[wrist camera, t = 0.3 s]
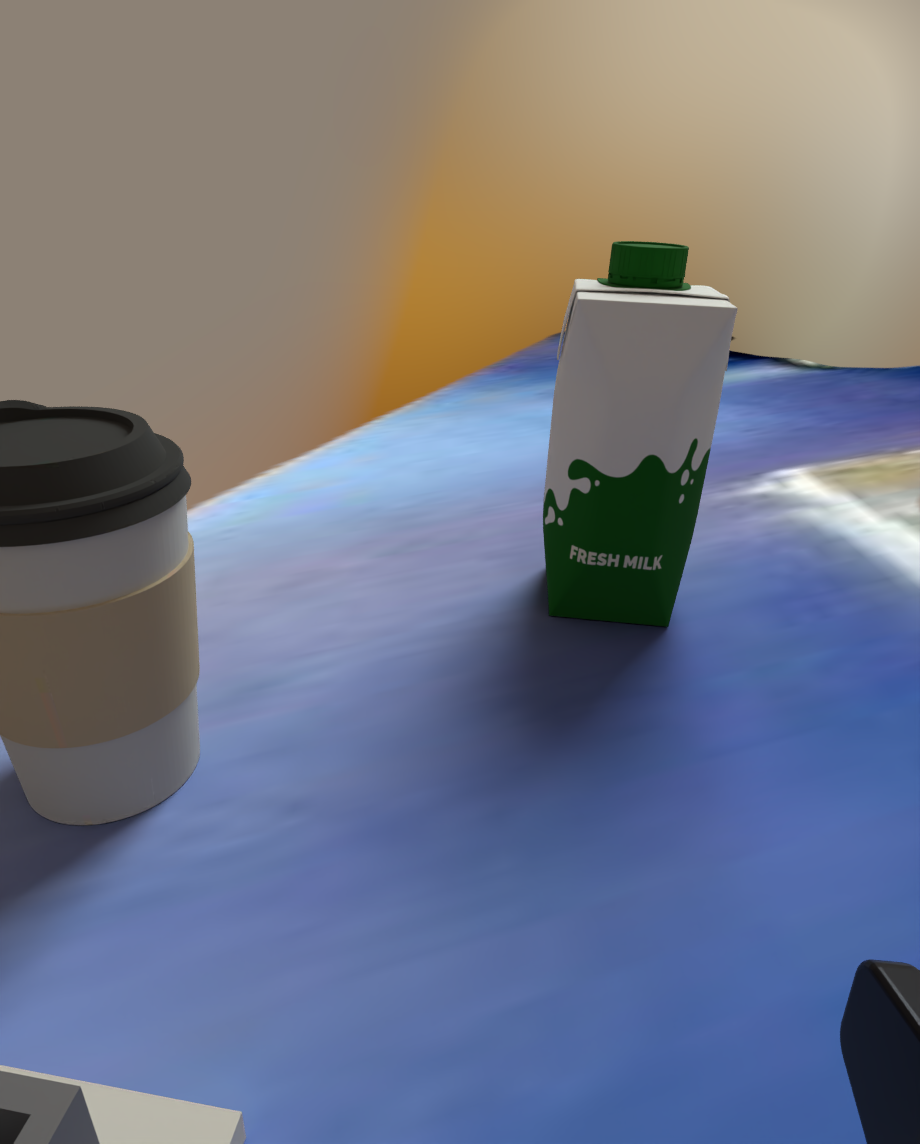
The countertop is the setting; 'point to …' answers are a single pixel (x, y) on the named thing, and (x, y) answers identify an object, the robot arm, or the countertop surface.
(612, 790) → the countertop surface
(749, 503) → the countertop surface
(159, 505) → the coffee cup
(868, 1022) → the robot arm
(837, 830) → the countertop surface
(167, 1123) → the grey button stand
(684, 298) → the milk carton
